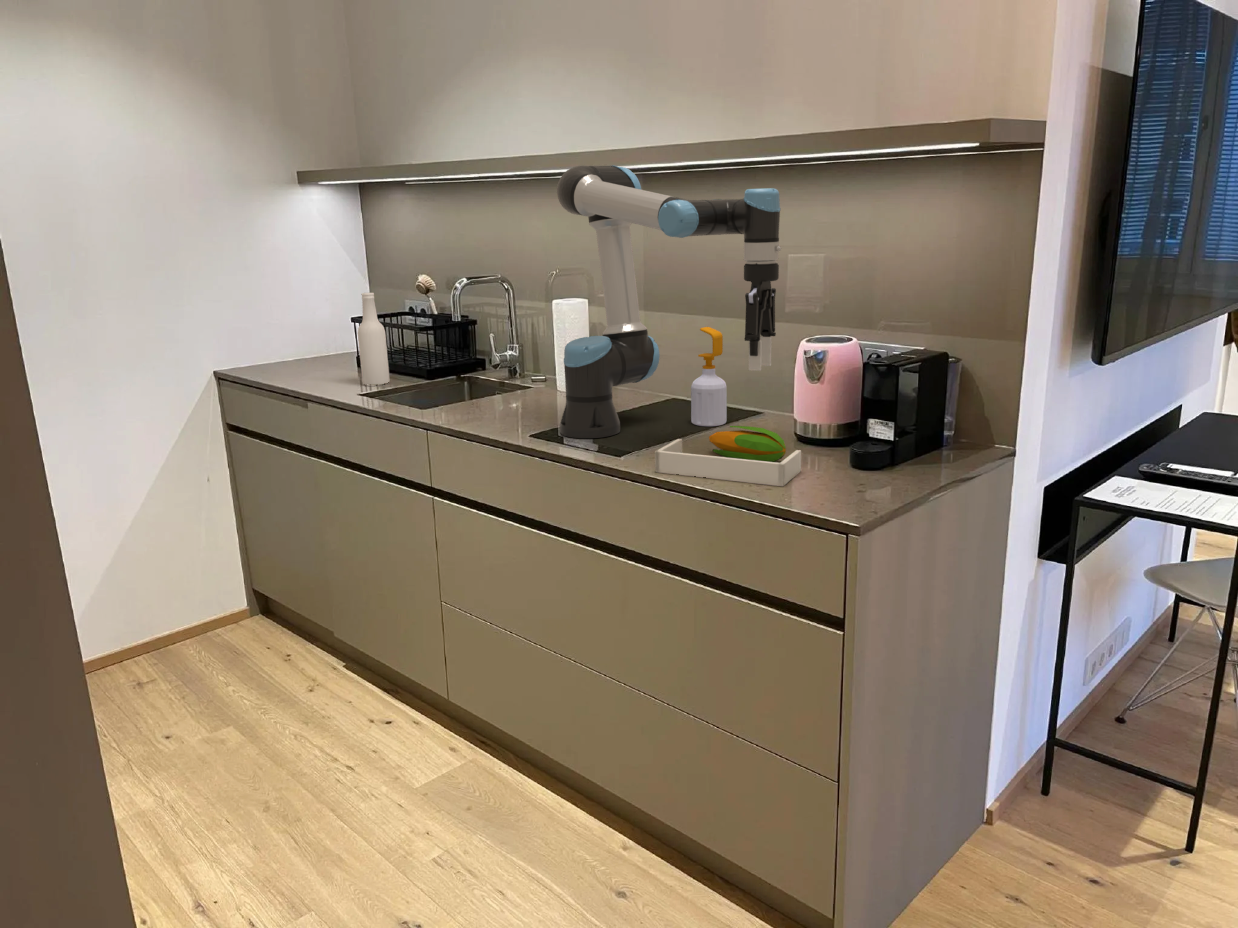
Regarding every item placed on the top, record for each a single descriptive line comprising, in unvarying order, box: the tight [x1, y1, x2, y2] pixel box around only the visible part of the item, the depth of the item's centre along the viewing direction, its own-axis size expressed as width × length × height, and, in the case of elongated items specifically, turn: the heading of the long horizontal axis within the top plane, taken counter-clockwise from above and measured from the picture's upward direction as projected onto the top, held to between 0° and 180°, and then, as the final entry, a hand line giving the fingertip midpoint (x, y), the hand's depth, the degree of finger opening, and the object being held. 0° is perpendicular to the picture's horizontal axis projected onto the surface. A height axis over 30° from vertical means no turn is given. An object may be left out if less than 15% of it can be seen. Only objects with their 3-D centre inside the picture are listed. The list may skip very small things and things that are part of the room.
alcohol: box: [357, 292, 391, 385], centre depth 306 cm, size 9×9×30 cm
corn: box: [708, 425, 787, 462], centre depth 205 cm, size 7×8×20 cm
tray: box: [654, 438, 802, 487], centre depth 195 cm, size 28×12×4 cm, turn 63°
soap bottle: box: [690, 326, 728, 427], centre depth 238 cm, size 9×9×25 cm
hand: (759, 367), depth 208 cm, fingers open, 6 cm apart
